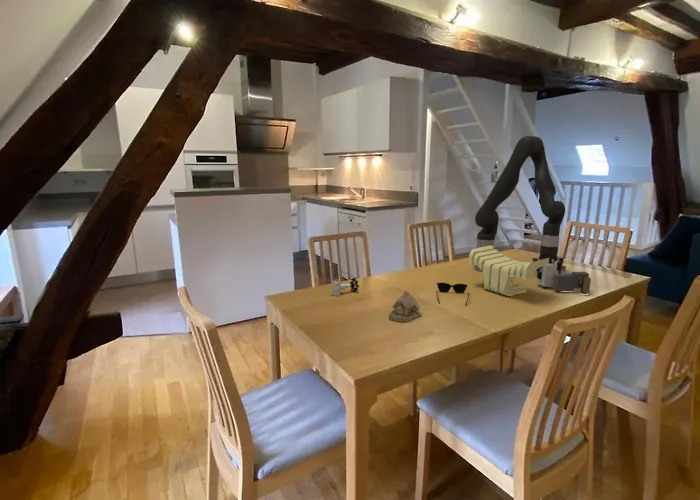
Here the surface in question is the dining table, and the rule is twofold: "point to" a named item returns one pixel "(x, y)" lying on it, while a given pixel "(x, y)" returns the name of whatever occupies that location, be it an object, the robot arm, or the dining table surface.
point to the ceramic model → (405, 308)
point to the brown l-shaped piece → (581, 280)
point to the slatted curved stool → (502, 270)
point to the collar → (568, 281)
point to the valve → (343, 286)
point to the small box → (547, 275)
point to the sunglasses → (457, 288)
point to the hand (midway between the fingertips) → (545, 278)
